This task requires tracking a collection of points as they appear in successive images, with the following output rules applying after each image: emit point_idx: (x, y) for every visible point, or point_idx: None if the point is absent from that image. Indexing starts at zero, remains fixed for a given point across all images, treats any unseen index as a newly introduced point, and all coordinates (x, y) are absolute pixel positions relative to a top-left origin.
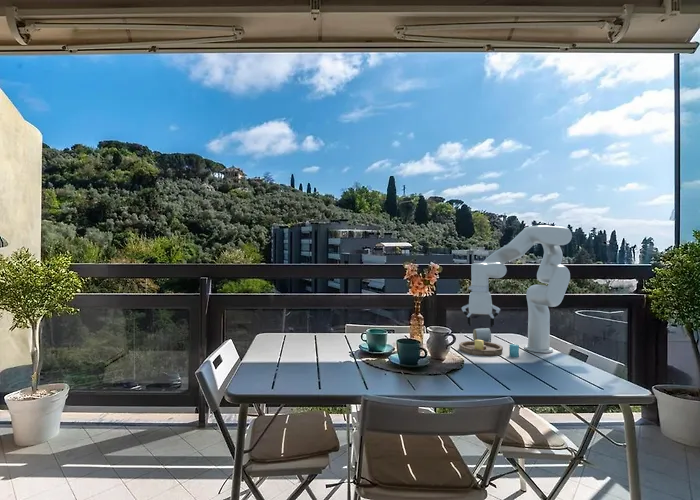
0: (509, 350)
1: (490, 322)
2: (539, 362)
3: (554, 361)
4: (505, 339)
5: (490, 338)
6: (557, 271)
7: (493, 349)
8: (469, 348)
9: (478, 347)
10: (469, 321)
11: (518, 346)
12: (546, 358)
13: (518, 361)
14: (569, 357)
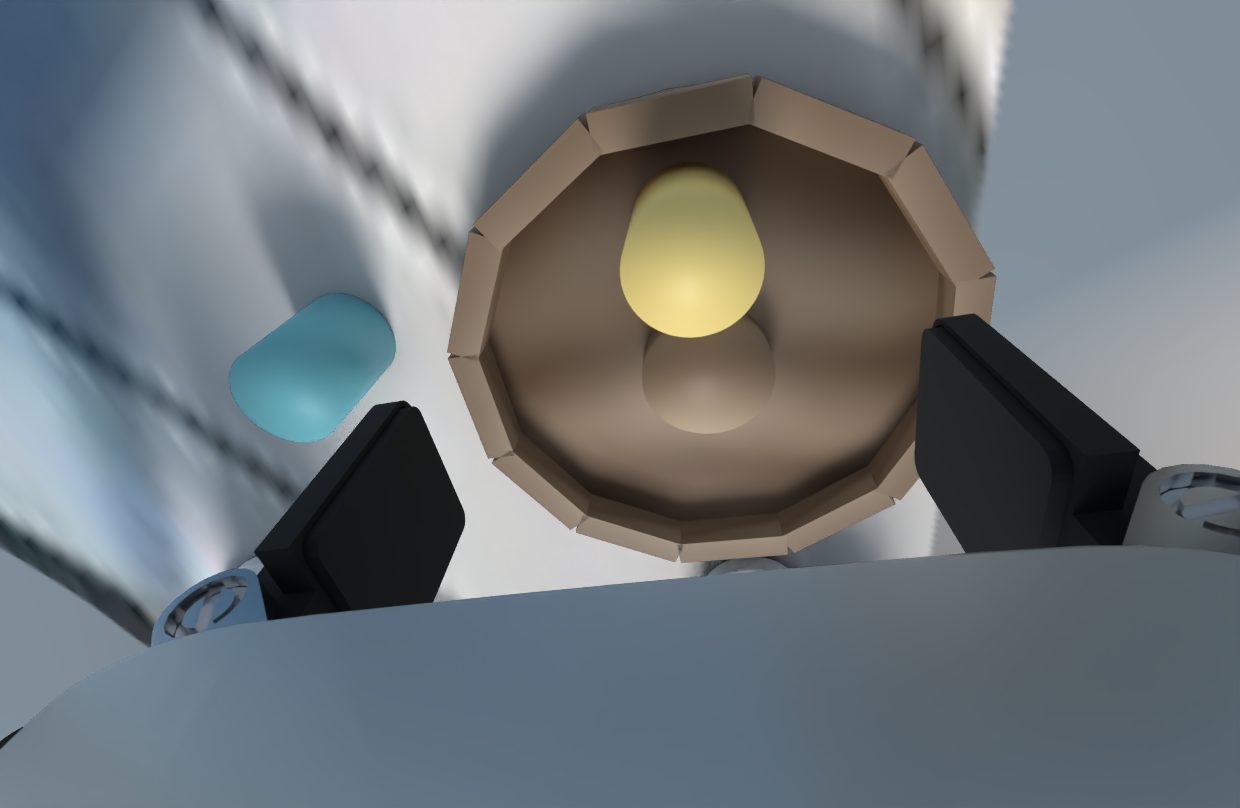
0: (358, 345)
1: (369, 468)
2: (50, 235)
3: (22, 358)
4: None
5: None
6: None
7: (577, 405)
8: (806, 108)
9: (679, 176)
10: (1018, 368)
11: (234, 384)
12: (130, 418)
13: (185, 127)
14: (70, 534)
